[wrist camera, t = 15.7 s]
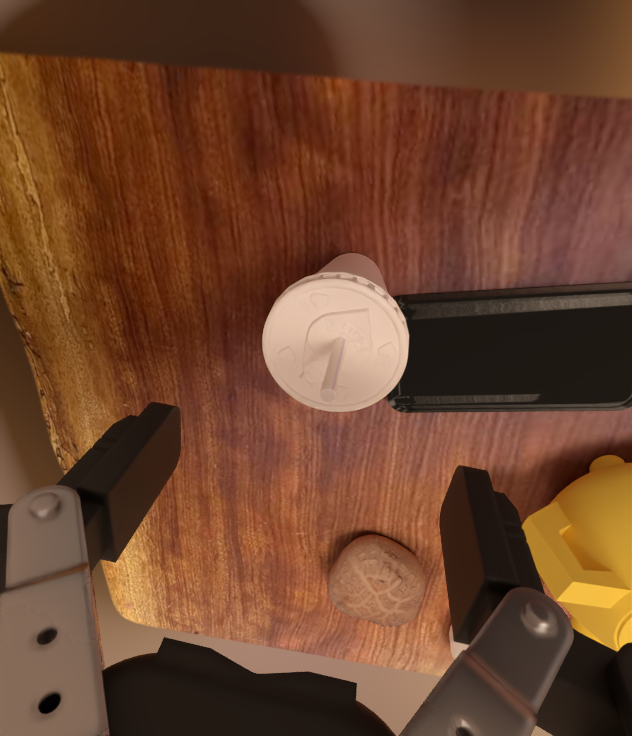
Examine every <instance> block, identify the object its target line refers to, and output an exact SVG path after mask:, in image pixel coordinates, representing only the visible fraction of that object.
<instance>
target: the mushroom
mask: <svg viewBox="0 0 632 736" xmlns="http://www.w3.org/2000/svg"><path fill="white" fill-rule="evenodd" d="M425 584H426V583H425V576H424V571H423V567H422V566H421V564H420V562H419V561H418V559H417V558H416V557H415V556H414V555H413V554H412V553H411V552H410V551H408V550H407V549H405V548H404V547H402V546H401V545H399V544H398V543H396V542H394V541H392V540H390V539H388V538H387V537H383V536H379V535H373V534H372V535H365V536H361V537H359V538H357V539H355V540H353V541H352V542H351V543H350V544H348V545H347V546H346V547H345V548H344V549H343V550H342V552H341V553H340V555H339V557H338V559H337V561H336V562H335V564H334V565H333V567H332V568H331V570H330V572H329V575H328V582H327V585H328V595H329V597H330V599H331V601H332V603H333V604H334V606H335V607H336V608H337V609H338V610H339V611H340V612H342V613H343V614H345V615H349V616H350V617H354V618H358V619H362V620H367V621H370V622H373V623H375V624H377V625H382V626H390V627H392V626H400V625H403V624H406V623H408V622H410V621H411V620H413V619H414V618H415V616H416V615H417V613H418V611H419V608H420V605H421V602H422V599H423V597H424V594H425Z"/></svg>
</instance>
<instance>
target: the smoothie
mask: <svg viewBox="0 0 632 736" xmlns="http://www.w3.org/2000/svg"><path fill="white" fill-rule="evenodd" d="M262 347H263V354H264V358H265V362H266V364H267V367H268V369H269V371H270V373H271V375H272V376H273V378H274V379H275V381H276V382H277V383H278V384H279V386H280V387H281V388H282V389H283V390H284V391H285V392H287V393H288V394H289V395H290V396H292V397H293V398H294V399H296V400H298V401H299V402H301V403H303V404H305V405H308V406H310V407H313V408H316V409H320V410H324V411H331V412H347V411H354V410H359V409H362V408H365V407H368V406H370V405H372V404H374V403H376V402H378V401H379V400H381V399H382V398H384V397H385V396H386V395H387V394H388V393H390V392H391V391H392V389H393V388H394V387H395V386H396V385H397V383H398V382H399V380H400V378H401V377H402V375H403V372H404V370H405V367H406V364H407V359H408V348H409V333H408V328H407V324H406V320H405V317H404V315H403V313H402V312H401V310H400V308H399V306H398V305H397V303H396V301H395V300H394V299H393V298H392V297H391V296H390V295H389V294H388V292H387V289H386V286H385V283H384V281H383V278H382V275H381V273H380V270H379V268H378V267H377V265H376V264H375V263H374V262H373V261H372V260H371V259H370V258H368V257H366V256H364V255H361V254H358V253H347V254H343V255H340V256H338V257H336V258H335V259H333V260H332V261H331V262H330V263H328V264H327V265H326V266H325V267H323V268H322V269H321V270H320V271H319V272H317V273H316V274H315V275H311V276H307V277H304V278H303V279H301V280H299V281H298V282H296V283H294V284H292V285H291V286H289V287H288V288H287V289H286V290H285V291H284V292H283V293H282V294H281V295H280V296H279V297H278V299H277V300H276V301H275V303H274V305H273V307H272V309H271V311H270V313H269V315H268V318H267V320H266V323H265V326H264V330H263V337H262Z"/></svg>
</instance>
